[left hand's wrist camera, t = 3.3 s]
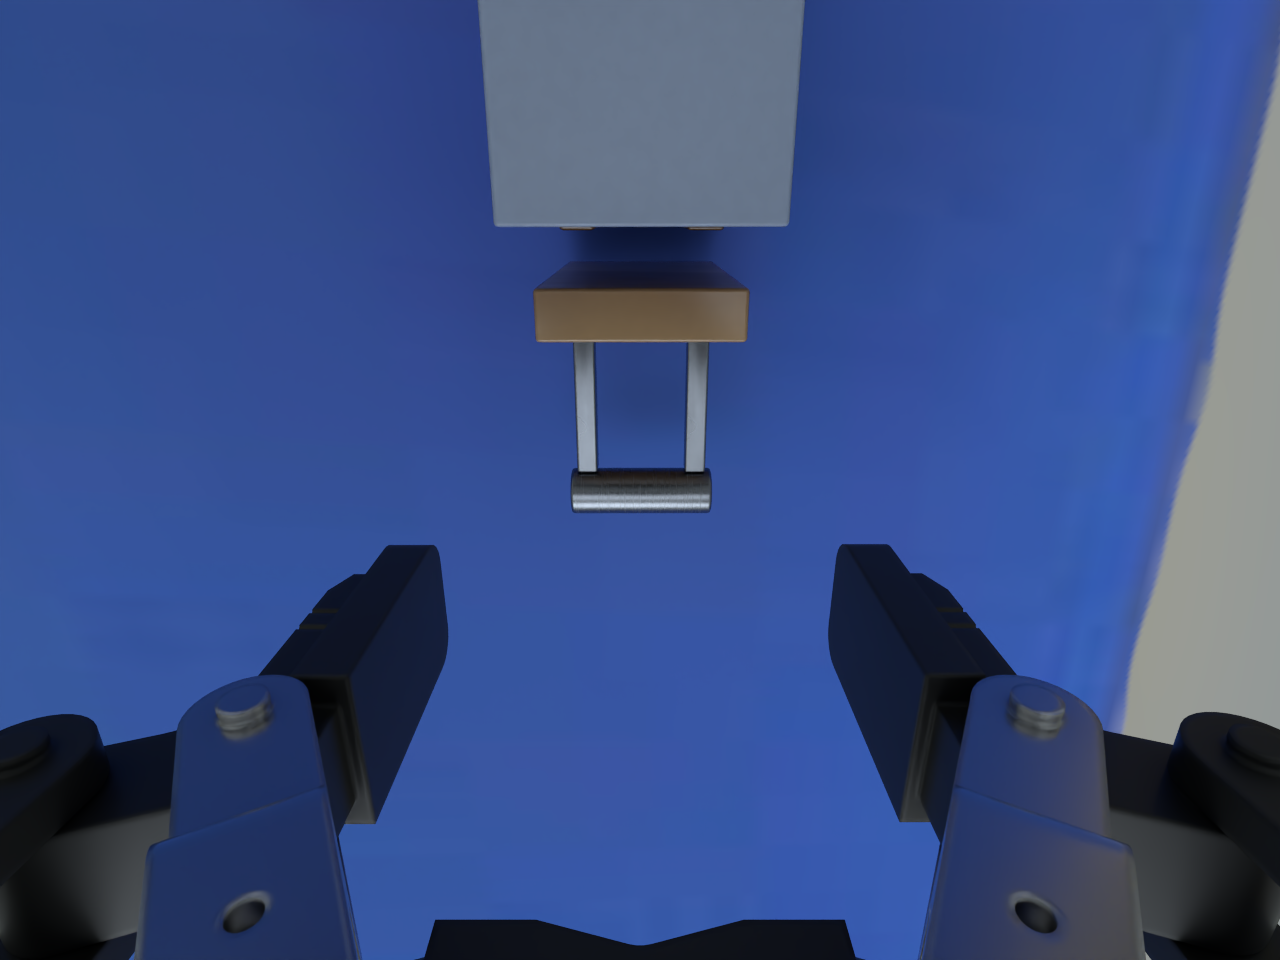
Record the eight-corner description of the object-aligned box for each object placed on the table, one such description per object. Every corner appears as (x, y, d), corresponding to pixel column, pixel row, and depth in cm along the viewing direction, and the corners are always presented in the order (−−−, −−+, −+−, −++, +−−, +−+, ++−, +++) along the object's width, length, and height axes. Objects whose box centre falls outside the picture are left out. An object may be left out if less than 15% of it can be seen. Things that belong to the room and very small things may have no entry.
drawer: (706, 461, 26) (735, 572, 18) (575, 462, 26) (548, 572, 18) (735, -370, 18) (811, -824, 10) (545, -369, 18) (470, -823, 10)
